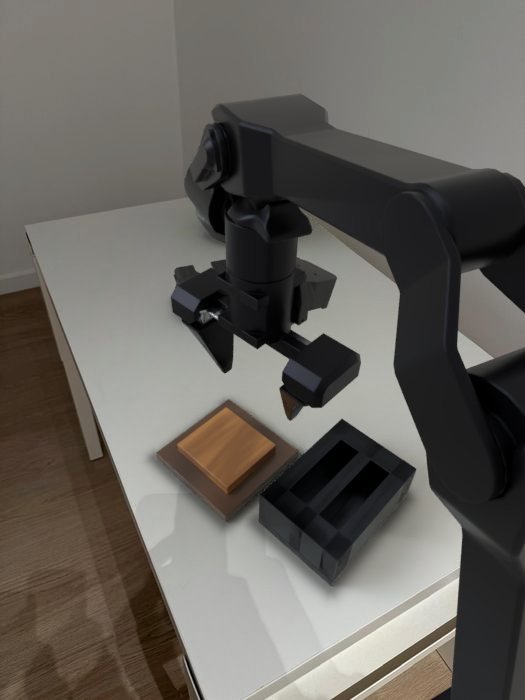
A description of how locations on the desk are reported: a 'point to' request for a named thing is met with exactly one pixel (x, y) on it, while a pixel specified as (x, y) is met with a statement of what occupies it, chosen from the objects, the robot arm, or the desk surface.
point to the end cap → (189, 271)
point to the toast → (226, 449)
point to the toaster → (335, 499)
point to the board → (206, 487)
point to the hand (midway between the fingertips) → (258, 393)
